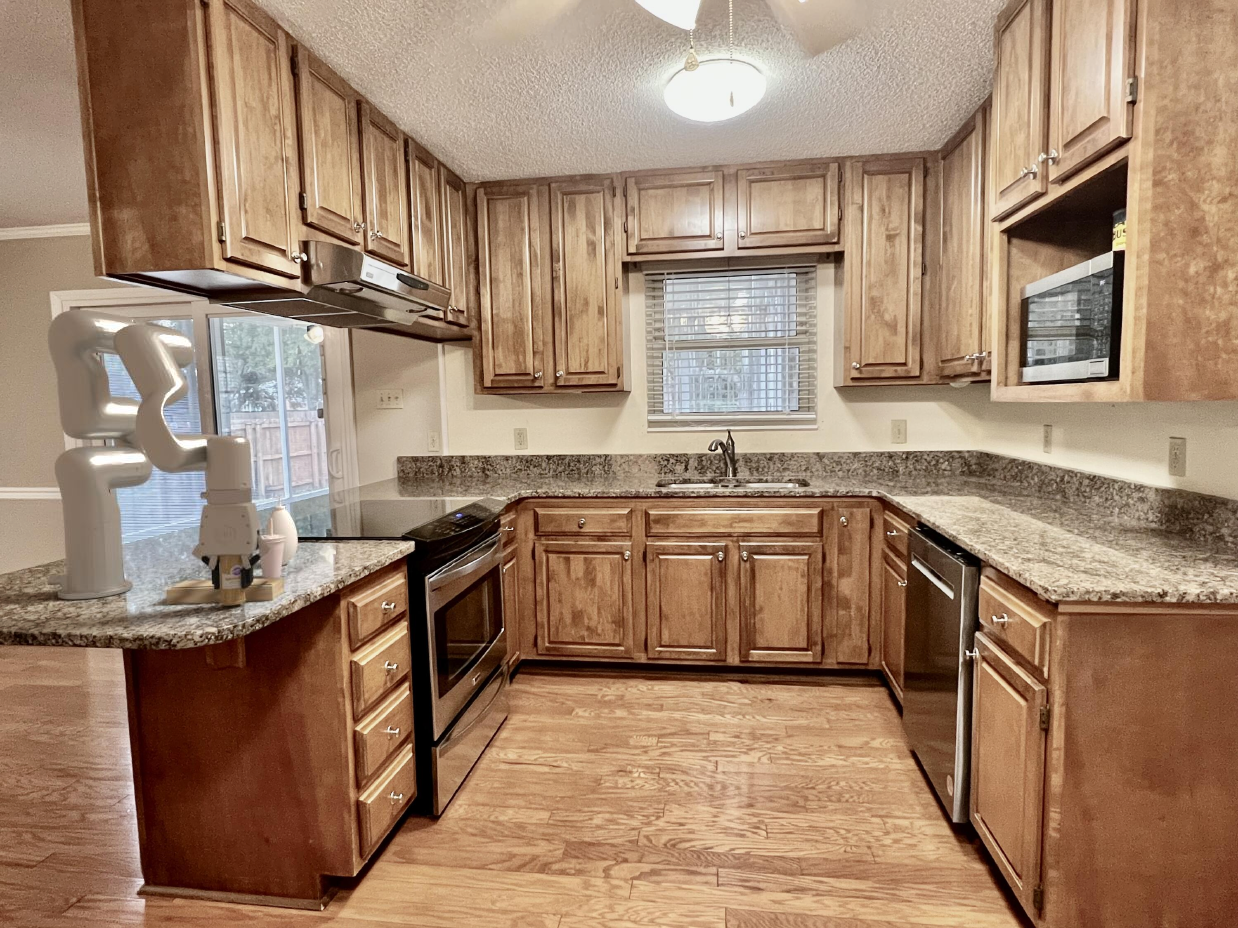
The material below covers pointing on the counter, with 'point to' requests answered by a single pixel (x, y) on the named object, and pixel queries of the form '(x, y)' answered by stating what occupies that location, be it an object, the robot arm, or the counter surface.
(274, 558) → the smoothie
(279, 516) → the sauce bottle
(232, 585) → the sprinkles bottle
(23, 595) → the counter surface
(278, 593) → the maple board
